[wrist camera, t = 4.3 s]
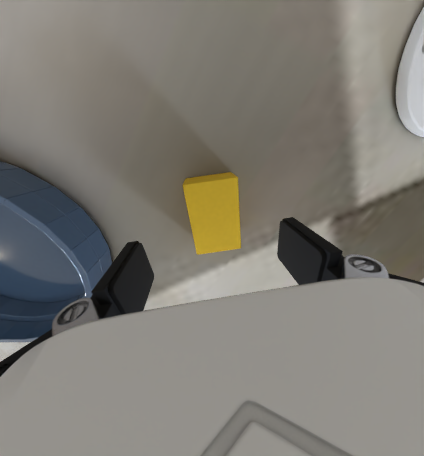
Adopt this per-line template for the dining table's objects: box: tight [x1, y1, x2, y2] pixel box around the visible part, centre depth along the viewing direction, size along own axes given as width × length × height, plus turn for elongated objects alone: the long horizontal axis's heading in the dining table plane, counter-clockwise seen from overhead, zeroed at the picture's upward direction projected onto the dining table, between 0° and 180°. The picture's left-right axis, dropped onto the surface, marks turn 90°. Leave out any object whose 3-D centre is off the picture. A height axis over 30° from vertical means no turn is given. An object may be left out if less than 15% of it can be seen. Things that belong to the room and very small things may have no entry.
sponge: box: [183, 172, 241, 254], centre depth 15 cm, size 7×4×3 cm, turn 7°
